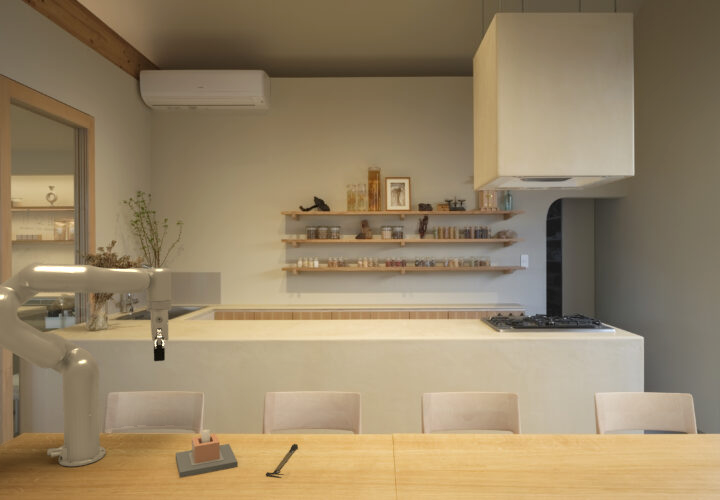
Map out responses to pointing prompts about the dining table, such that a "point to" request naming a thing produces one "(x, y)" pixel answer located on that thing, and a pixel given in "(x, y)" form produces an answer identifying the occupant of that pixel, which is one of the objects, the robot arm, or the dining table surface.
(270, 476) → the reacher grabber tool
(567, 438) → the dining table surface
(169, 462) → the dining table surface
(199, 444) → the collar
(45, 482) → the dining table surface
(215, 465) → the post board
